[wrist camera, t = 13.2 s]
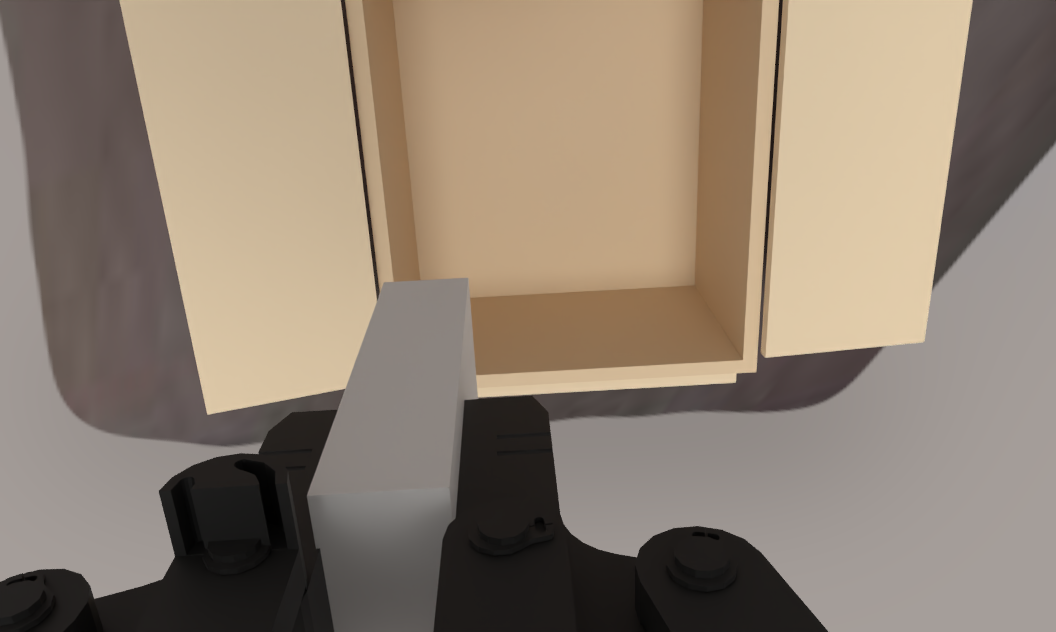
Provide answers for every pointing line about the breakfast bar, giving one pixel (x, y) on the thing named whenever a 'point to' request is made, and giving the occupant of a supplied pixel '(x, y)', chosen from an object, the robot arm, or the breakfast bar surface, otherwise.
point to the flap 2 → (859, 170)
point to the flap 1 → (258, 189)
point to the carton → (575, 179)
